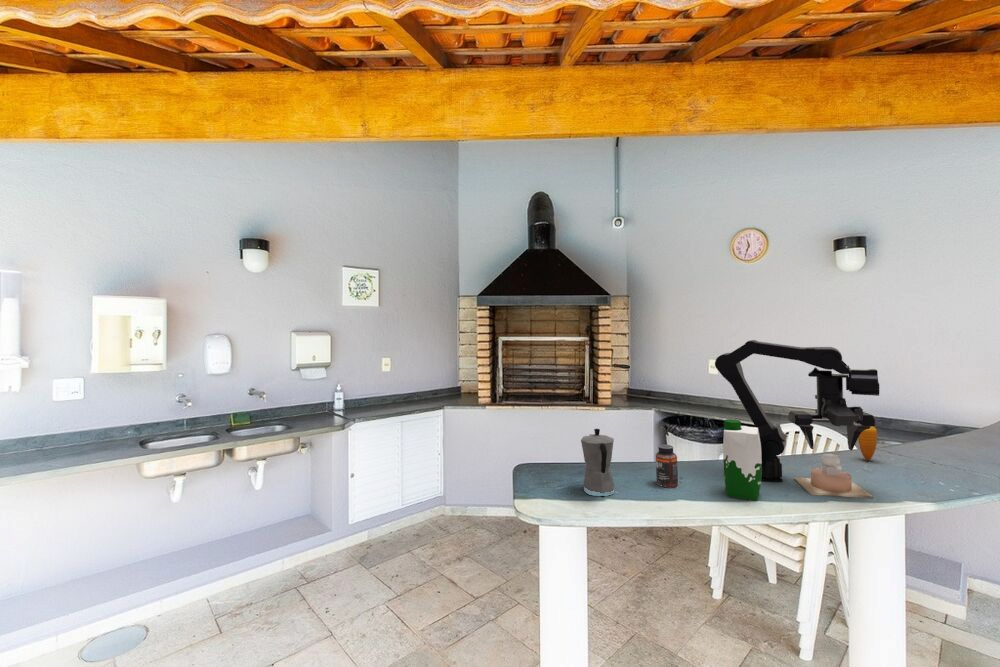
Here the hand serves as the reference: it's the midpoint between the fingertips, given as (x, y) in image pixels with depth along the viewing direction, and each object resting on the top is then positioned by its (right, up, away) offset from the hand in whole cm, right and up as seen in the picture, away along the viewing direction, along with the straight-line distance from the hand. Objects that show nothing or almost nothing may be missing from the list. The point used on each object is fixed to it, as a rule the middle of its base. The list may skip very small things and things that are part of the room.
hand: (830, 449), depth 119 cm
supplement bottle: (-42, -13, +8) cm, 45 cm away
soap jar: (0, -11, 0) cm, 11 cm away
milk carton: (-25, -12, -1) cm, 28 cm away
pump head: (0, -7, -1) cm, 7 cm away
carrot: (+27, -9, +20) cm, 35 cm away
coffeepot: (-63, -14, +4) cm, 64 cm away
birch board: (0, -11, 0) cm, 11 cm away
